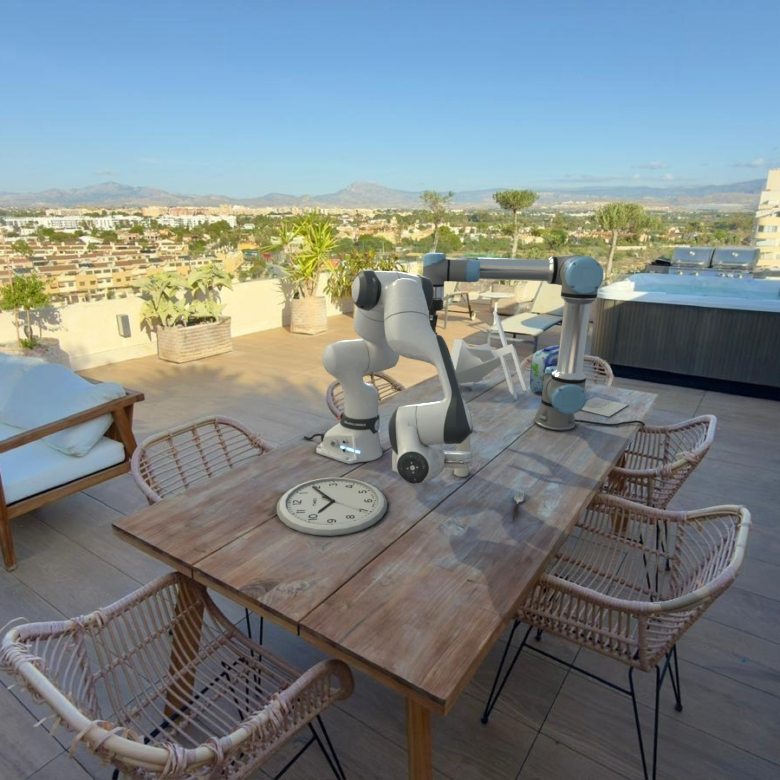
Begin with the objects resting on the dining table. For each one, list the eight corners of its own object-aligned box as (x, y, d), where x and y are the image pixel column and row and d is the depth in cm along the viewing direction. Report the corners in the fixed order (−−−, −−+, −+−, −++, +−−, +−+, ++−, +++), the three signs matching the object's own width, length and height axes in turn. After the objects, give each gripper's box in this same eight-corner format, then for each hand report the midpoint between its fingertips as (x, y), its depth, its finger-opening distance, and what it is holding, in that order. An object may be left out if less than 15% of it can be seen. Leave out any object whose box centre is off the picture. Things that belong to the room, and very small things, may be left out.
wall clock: (392, 527, 129) (268, 531, 127) (391, 533, 130) (269, 537, 127) (383, 473, 158) (282, 475, 155) (383, 478, 158) (282, 480, 156)
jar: (462, 478, 160) (465, 429, 155) (451, 473, 163) (453, 425, 158) (471, 473, 163) (474, 425, 158) (459, 469, 166) (462, 421, 161)
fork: (507, 521, 136) (508, 514, 136) (515, 493, 151) (516, 487, 150) (517, 523, 135) (518, 516, 135) (524, 495, 150) (525, 488, 149)
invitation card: (608, 416, 214) (573, 407, 224) (608, 416, 214) (573, 408, 224) (628, 404, 229) (594, 396, 238) (628, 405, 229) (594, 397, 238)
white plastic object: (461, 429, 252) (437, 405, 227) (444, 352, 274) (420, 323, 250) (535, 404, 240) (518, 377, 215) (510, 326, 262) (492, 293, 237)
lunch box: (546, 398, 236) (551, 353, 229) (525, 393, 243) (529, 349, 237) (573, 387, 253) (579, 344, 247) (553, 382, 260) (558, 341, 254)
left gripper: (470, 449, 124) (476, 445, 137) (387, 445, 129) (400, 441, 143) (469, 475, 124) (475, 469, 137) (386, 471, 129) (400, 465, 142)
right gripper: (424, 293, 195) (422, 349, 202) (419, 302, 172) (417, 365, 178) (444, 294, 195) (441, 350, 201) (442, 303, 171) (439, 366, 177)
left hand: (436, 455), depth 140 cm, fingers open, 8 cm apart
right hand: (430, 357), depth 190 cm, fingers open, 13 cm apart
